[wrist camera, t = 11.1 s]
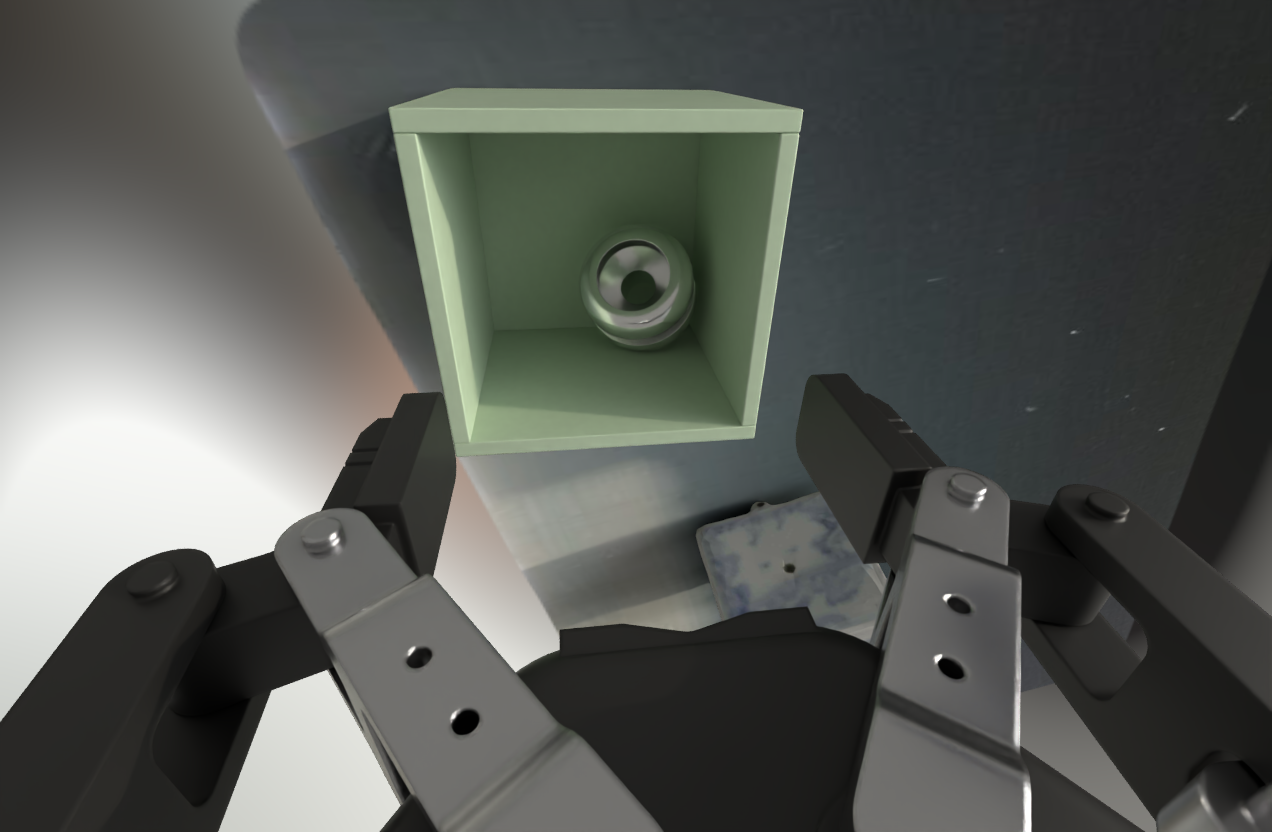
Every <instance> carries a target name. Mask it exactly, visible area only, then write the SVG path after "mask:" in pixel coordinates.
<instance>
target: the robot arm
mask: <svg viewBox="0 0 1272 832" xmlns="http://www.w3.org/2000/svg"><path fill="white" fill-rule="evenodd" d="M796 447H797V452H798V456H799V458H800V460H801V462H802V464H803V465H804V467H805V469H806V470H807V472H808V473H809V475H810V477H811V478H812V480H813V482H814V483H815V485H816V487H817V488H818V490H819V492H820V493H821V495H822V497H823V498H824V500H825V502H826V503H827V505H828V507H829V508H830V510H831V511H832V513H833V515H834V516H835V518H836V520H837V521H838V523H839V525H840V526H841V528H842V530H843V531H844V533H845V535H846V536H847V538H848V540H849V541H850V543H851V545H852V546H853V548H854V549H855V551H856V553H857V554H858V556H859V558H860V559H861V561H862V563H863V564H873V563H884V562H887V563H888V564H889V566H890V567H891V569H890V572H889V575H888V578H887V580H886V584H885V588H884V591H883V595H882V599H881V603H880V606H879V610H878V614H877V617H876V621H875V625H874V628H873V632H872V636H871V640H870V643H868V642H866V641H864V640H861V639H859V638H857V637H855V636H852V635H849V634H846V633H843V632H841V631H837V630H833V629H829V628H825V627H819V626H816V624H815V621H814V619H813V617H812V615H811V613H810V610H809V608H808V606H805V607H795V608H784V609H774V610H763V611H752V612H747V613H744V614H741V615H738V616H736V617H733V618H730V619H727V620H724V621H721V622H718V623H716V624H713V625H710V626H707V627H704V628H701V629H698V630H695V631H690V632H683V631H675V630H667V629H660V628H652V627H644V626H636V625H628V624H615V625H605V626H594V627H583V628H573V629H562V630H560V650H558V651H556V652H553V653H550V654H547V655H545V656H543V657H541V658H539V659H537V660H535V661H533V662H531V663H530V664H528V665H526V666H525V667H523V668H521V669H520V670H519V671H517V672H516V673H515V672H514V670H513V669H512V668H511V667H510V666H509V664H508V663H507V662H506V661H505V660H504V659H503V657H502V656H501V655H500V654H499V653H498V652H497V650H496V649H495V648H494V647H493V646H492V645H491V643H490V642H489V641H488V640H487V639H486V638H485V637H484V635H483V634H482V633H481V632H480V631H479V629H478V628H477V627H476V626H475V625H474V624H473V622H472V621H471V620H470V619H469V618H468V617H467V616H466V614H465V613H464V612H463V611H462V610H461V608H460V607H459V606H458V605H457V604H456V603H455V601H454V600H453V599H452V598H451V597H450V596H449V594H448V593H447V592H446V591H445V590H444V589H443V588H442V586H441V585H440V584H439V583H438V582H437V580H436V579H435V578H434V577H433V575H434V570H435V566H436V562H437V557H438V553H439V549H440V544H441V540H442V536H443V532H444V527H445V523H446V519H447V514H448V510H449V506H450V501H451V497H452V492H453V488H454V484H455V479H456V456H455V450H454V445H453V440H452V435H451V430H450V425H449V419H448V414H447V409H446V404H445V400H444V397H443V395H442V393H441V392H431V393H410V394H403V396H402V397H401V399H400V402H399V404H398V406H397V408H396V411H395V413H394V415H393V417H392V418H380V419H379V418H378V419H377V420H376V421H375V422H373V423H372V424H371V425H370V426H369V427H367V428H366V429H365V430H364V431H363V432H361V434H360V435H359V437H358V439H357V441H356V443H355V445H354V447H353V449H352V453H350V455H349V457H348V459H347V461H346V463H345V467H343V469H342V470H341V472H340V474H339V477H338V479H337V480H336V482H335V484H334V486H333V488H332V490H331V492H330V494H329V496H328V498H327V500H326V502H325V504H324V506H323V508H322V510H321V511H320V512H316V513H314V514H311V515H309V516H307V517H305V518H303V519H301V520H299V521H298V522H296V523H294V524H293V525H292V526H290V527H289V528H288V529H287V530H286V531H285V532H284V533H283V534H282V535H281V537H280V538H279V539H278V541H277V543H276V545H275V549H274V551H272V552H270V553H267V554H264V555H261V556H258V557H254V558H250V559H247V560H244V561H240V562H236V563H233V564H230V565H226V566H222V567H219V568H216V567H215V565H214V563H213V561H212V560H211V558H210V556H209V555H207V554H206V553H204V552H203V551H200V550H196V549H177V550H170V551H166V552H162V553H159V554H156V555H153V556H150V557H148V558H146V559H143V560H141V561H139V562H137V563H135V564H133V565H131V566H130V567H128V568H127V569H125V570H123V571H122V572H120V573H119V574H118V575H116V576H115V577H114V578H113V579H112V580H110V581H109V582H108V583H107V584H106V585H105V586H104V587H103V589H102V590H101V591H100V592H99V594H98V595H97V596H96V597H95V599H94V600H93V601H92V603H91V604H90V605H89V607H88V608H87V609H86V611H85V612H84V613H83V614H82V616H81V617H80V618H79V620H78V621H77V622H76V624H75V625H74V626H73V628H72V629H71V630H70V631H69V633H68V634H67V636H66V637H65V638H64V639H63V641H62V642H61V643H60V645H59V646H58V647H57V649H56V650H55V651H54V652H53V654H52V655H51V656H50V658H49V659H48V660H47V662H46V663H45V664H44V666H43V667H42V668H41V669H40V671H39V672H38V674H37V675H36V676H35V677H34V679H33V680H32V681H31V683H30V684H29V685H28V687H27V688H26V689H25V690H24V692H23V693H22V694H21V696H20V697H19V698H18V700H17V701H16V702H15V703H14V705H13V706H12V707H11V709H10V710H9V711H8V713H7V714H6V715H5V717H4V718H3V719H2V721H1V722H0V832H218V831H219V828H220V825H221V823H222V820H223V818H224V815H225V812H226V809H227V807H228V804H229V802H230V799H231V796H232V794H233V791H234V788H235V786H236V783H237V780H238V778H239V775H240V772H241V770H242V767H243V764H244V762H245V759H246V757H247V754H248V751H249V748H250V746H251V743H252V741H253V738H254V735H255V733H256V730H257V727H258V725H259V722H260V719H261V717H262V714H263V711H264V709H265V706H266V703H267V701H268V698H269V695H270V693H271V690H274V689H276V688H279V687H282V686H284V685H287V684H290V683H293V682H295V681H298V680H300V679H303V678H306V677H309V676H312V675H314V674H317V673H319V672H322V671H325V670H327V671H328V672H329V674H330V676H331V677H332V680H333V681H334V683H335V685H336V687H337V688H338V690H339V692H340V694H341V696H342V697H343V699H344V701H345V703H346V705H347V706H348V708H349V710H350V712H351V713H352V715H353V717H354V719H355V721H356V722H357V724H358V726H359V728H360V730H361V731H362V733H363V735H364V737H365V739H366V740H367V742H368V744H369V746H370V748H371V749H372V751H373V753H374V755H375V757H376V759H377V761H378V763H379V765H380V767H381V769H382V771H383V773H384V775H385V777H386V779H387V781H388V783H389V785H390V786H391V788H392V790H393V792H394V794H395V796H396V798H397V799H398V801H399V803H400V805H401V806H400V807H399V809H398V810H397V811H396V812H395V814H394V815H393V816H392V817H391V818H390V820H389V821H388V822H387V823H386V825H385V826H384V827H383V828H382V829H381V831H380V832H1145V831H1143V830H1142V829H1140V828H1139V827H1137V826H1136V825H1134V824H1133V823H1132V822H1130V821H1129V820H1127V819H1126V818H1124V817H1123V816H1121V815H1120V814H1119V813H1117V812H1116V811H1114V810H1113V809H1111V808H1110V807H1108V806H1107V805H1106V804H1104V803H1103V802H1101V801H1100V800H1098V799H1097V798H1095V797H1094V796H1092V795H1091V794H1090V793H1088V792H1087V791H1085V790H1084V789H1082V788H1081V787H1079V786H1078V785H1076V784H1075V783H1074V782H1072V781H1070V780H1069V779H1068V778H1066V777H1065V776H1063V775H1062V774H1061V773H1059V772H1058V771H1056V770H1055V769H1053V768H1052V767H1050V766H1049V765H1048V764H1046V763H1045V762H1043V761H1042V760H1040V759H1039V758H1037V757H1036V756H1035V755H1033V754H1032V753H1030V752H1029V751H1027V750H1026V749H1024V748H1023V747H1021V746H1020V665H1021V637H1022V639H1023V640H1024V641H1025V643H1026V644H1027V646H1028V647H1029V648H1030V650H1031V651H1032V652H1033V654H1034V655H1035V656H1036V658H1037V659H1038V661H1039V662H1040V663H1041V665H1042V666H1043V667H1044V669H1045V670H1046V672H1047V673H1048V674H1049V676H1050V677H1051V678H1052V680H1053V681H1054V683H1055V684H1056V685H1057V686H1058V688H1059V689H1060V691H1061V692H1062V693H1063V695H1064V696H1065V698H1066V699H1067V700H1068V702H1069V703H1070V704H1071V706H1072V707H1073V708H1074V710H1075V711H1076V712H1077V714H1078V715H1079V717H1080V718H1081V719H1082V721H1083V722H1084V724H1085V725H1086V726H1087V727H1088V729H1089V730H1090V732H1091V733H1092V735H1093V736H1094V737H1095V738H1096V740H1097V741H1098V743H1099V744H1100V746H1101V747H1102V748H1103V750H1104V751H1105V752H1106V753H1107V755H1108V756H1109V758H1110V759H1111V760H1112V762H1113V763H1114V765H1115V766H1116V767H1117V769H1118V770H1119V772H1120V773H1121V774H1122V776H1123V777H1124V778H1125V780H1126V781H1127V782H1128V784H1129V785H1130V786H1131V788H1132V789H1133V791H1134V792H1135V793H1136V795H1137V796H1138V797H1139V799H1140V800H1141V802H1142V803H1143V804H1144V806H1145V807H1146V809H1147V810H1148V811H1149V813H1150V814H1151V815H1152V817H1153V818H1154V819H1155V821H1156V827H1157V832H1272V616H1270V615H1269V614H1268V613H1267V612H1266V611H1264V610H1263V609H1262V608H1261V607H1259V606H1258V605H1257V604H1256V603H1255V602H1254V601H1252V600H1251V599H1250V598H1249V597H1248V596H1246V595H1245V594H1244V593H1243V592H1241V591H1240V590H1239V589H1238V588H1237V587H1236V586H1234V585H1233V584H1232V583H1230V581H1228V580H1227V579H1226V578H1225V577H1224V576H1222V575H1221V574H1220V573H1219V572H1218V571H1216V570H1215V569H1214V568H1212V567H1211V566H1210V565H1209V564H1208V563H1207V562H1206V561H1204V560H1203V559H1202V558H1201V557H1199V556H1198V555H1197V554H1196V553H1195V552H1194V551H1192V550H1191V549H1190V548H1189V547H1188V546H1186V545H1185V544H1184V543H1183V542H1181V541H1180V540H1179V539H1178V538H1177V537H1175V536H1174V535H1173V534H1172V533H1171V532H1169V531H1168V530H1167V529H1166V528H1165V527H1163V526H1162V525H1161V524H1160V523H1159V522H1157V521H1156V520H1155V519H1154V518H1153V517H1151V516H1150V515H1149V514H1148V513H1147V512H1145V511H1144V510H1143V509H1142V508H1140V507H1139V506H1138V505H1136V504H1135V503H1133V502H1132V501H1130V500H1129V499H1127V498H1125V497H1123V496H1121V495H1119V494H1116V493H1114V492H1111V491H1109V490H1106V489H1102V488H1099V487H1095V486H1090V485H1082V484H1073V485H1067V486H1064V487H1062V488H1060V489H1059V490H1058V492H1057V494H1056V496H1055V498H1054V499H1053V501H1052V503H1051V505H1043V504H1036V503H1029V502H1022V501H1015V500H1009V497H1008V495H1007V494H1006V492H1005V491H1004V490H1003V489H1002V488H1001V487H1000V486H999V485H998V484H997V483H996V482H994V481H993V480H991V479H989V478H988V477H986V476H984V475H982V474H979V473H977V472H974V471H971V470H968V469H964V468H959V467H950V466H946V464H945V463H944V462H943V461H942V460H941V459H940V458H939V457H938V456H937V455H936V454H935V453H934V452H933V451H932V450H931V449H930V448H929V447H928V446H927V444H926V443H925V442H924V441H923V440H922V439H921V438H920V437H919V436H918V435H917V434H916V433H913V430H912V429H911V428H910V427H909V426H908V425H907V423H906V422H905V421H903V422H902V418H901V417H900V416H899V415H898V414H897V413H896V412H895V411H894V410H893V409H892V408H891V407H890V406H889V405H888V404H886V403H885V402H883V401H881V400H879V399H878V398H876V397H874V396H872V395H871V394H865V393H864V392H863V391H862V390H861V389H860V388H859V387H858V386H857V385H856V383H855V382H854V381H853V380H852V379H851V378H850V377H849V376H848V375H847V374H844V373H841V374H821V375H811V376H810V377H809V378H808V380H807V383H806V387H805V392H804V397H803V402H802V407H801V412H800V417H799V422H798V427H797V432H796ZM1110 595H1112V596H1113V597H1114V598H1115V599H1116V600H1117V601H1118V602H1119V603H1120V604H1121V605H1122V606H1123V607H1124V608H1125V609H1126V610H1127V611H1128V612H1129V613H1130V615H1131V616H1132V617H1133V618H1134V619H1135V620H1136V621H1137V622H1138V623H1139V624H1140V626H1141V627H1142V629H1143V631H1144V633H1145V635H1146V638H1147V643H1148V650H1147V654H1146V656H1145V658H1144V659H1143V660H1142V659H1141V658H1140V657H1139V656H1138V655H1137V654H1136V653H1135V651H1134V650H1133V649H1132V648H1131V647H1130V646H1129V645H1128V644H1127V642H1126V641H1125V640H1124V639H1123V638H1122V637H1121V636H1120V635H1119V634H1118V632H1117V631H1116V630H1115V629H1114V628H1113V627H1112V626H1111V625H1110V624H1109V623H1108V621H1107V620H1106V619H1105V618H1104V617H1103V616H1102V615H1101V614H1100V613H1099V611H1100V609H1101V608H1102V606H1103V605H1104V603H1105V602H1106V601H1107V599H1108V598H1109V596H1110Z"/></svg>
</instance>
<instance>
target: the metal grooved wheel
mask: <svg viewBox="0 0 1272 832" xmlns="http://www.w3.org/2000/svg"><path fill="white" fill-rule="evenodd" d="M640 283H649V284H652V285H653V286H655V287H656V288H655V292H654V294H653V296H652V297H651V298H650V299H649V300H648V301H647V302H645V303H642V304H632V303H630V302H628V301H627V296H628V293H629V291H630V290H631V289H632V288H633V287H634V286H635V285H637V284H640ZM579 293H580V298H581V301H582V304H583V306H584V309H585V310H586V312H587V314H588V315H589V317H590V318H591V319H592V320H593V322H594V323H595V324H596V325H597V327H598V328H599V329H600V330H601V332H602V333H603V334H604V335H605V336H606V337H607V338H608V339H609V340H610V341H612V342H613V343H615V344H617V345H618V346H621V347H623V348H626V349H630V350H637V351H646V350H653V349H657V348H660V347H662V346H665V345H667V344H668V343H670V342H672V341H673V340H675V339H676V338H677V337H678V336H679V335H680V334H681V333H682V332H683V331H684V330H685V329H686V328H687V326H688V325H689V323H690V321H691V319H692V317H693V315H694V312H695V308H696V302H697V291H696V285H695V279H694V273H693V267H692V263H691V260H690V258H689V255H688V253H687V252H686V250H685V248H684V247H683V246H682V244H681V243H680V242H679V241H678V240H677V239H676V238H675V237H674V236H672V235H671V234H669V233H668V232H666V231H664V230H662V229H660V228H657V227H654V226H649V225H628V226H624V227H621V228H618V229H615V230H613V231H611V232H609V233H608V234H606V235H604V236H603V237H602V238H601V239H599V240H598V241H597V242H596V243H595V244H594V245H593V246H592V248H591V249H590V250H589V252H588V253H587V255H586V257H585V259H584V261H583V263H582V266H581V270H580V274H579Z"/></svg>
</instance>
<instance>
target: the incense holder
mask: <svg viewBox="0 0 1272 832" xmlns="http://www.w3.org/2000/svg"><path fill="white" fill-rule="evenodd" d="M696 539H697V542H698V546H699V550H700V553H701V557H702V560H703V563H704V565H705V568H706V571H707V574H708V577H709V581H710V584H711V587H712V590H713V593H714V596H715V599H716V603H717V607H718V610H719V613H720V617H721V620H722V621H724V620H727V619H730V618H733V617H736V616H738V615H741V614H744V613H747V612H752V611H763V610H774V609H784V608H795V607H805V606H808V608H809V610H810V613H811V615H812V617H813V619H814V621H815V624H816V626H819V627H825V628H829V629H833V630H837V631H841V632H843V633H846V634H849V635H852V636H855V637H857V638H859V639H861V640H864V641H866V642H868V643H870V640H871V636H872V632H873V628H874V625H875V621H876V617H877V614H878V610H879V606H880V603H881V599H882V595H883V591H884V588H885V584H886V580H887V579H886V577H885V575H884V574H883V572H882V570H881V568H880V566H879V564H878V563H873V564H863V563H862V561H861V559H860V558H859V556H858V554H857V553H856V551H855V549H854V548H853V546H852V545H851V543H850V541H849V540H848V538H847V536H846V535H845V533H844V531H843V530H842V528H841V526H840V525H839V523H838V521H837V520H836V518H835V516H834V515H833V513H832V511H831V510H830V508H829V507H828V505H827V503H826V502H825V500H824V498H823V497H822V495H821V493H820V492H816V493H812V494H809V495H807V496H803V497H800V498H797V499H795V500H792V501H789V502H786V503H782V504H778V505H770V504H768V503H767V502H756V503H754V504H753V505H752V507H751V511H750V512H749V513H748V514H745V515H741V516H738V517H733V518H729V519H725V520H722V521H719V522H714V523H710V524H707V525H704V526H702V527H701V528H699V529H697V533H696Z"/></svg>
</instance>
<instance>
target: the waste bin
mask: <svg viewBox="0 0 1272 832" xmlns="http://www.w3.org/2000/svg"><path fill="white" fill-rule="evenodd" d="M388 110H389V115H390V120H391V125H392V131H393V132H394V133H395V134H394V141H395V146H396V151H397V156H398V161H399V166H400V171H401V177H402V182H403V187H404V192H405V197H406V202H407V207H408V212H409V218H410V223H411V228H412V233H413V238H414V243H415V248H416V253H417V259H418V264H419V269H420V274H421V279H422V284H423V289H424V294H425V300H426V305H427V310H428V315H429V320H430V325H431V330H432V335H433V340H434V346H435V351H436V356H437V361H438V366H439V371H440V376H441V381H442V387H443V392H444V397H445V402H446V407H447V412H448V417H449V422H450V428H451V433H452V438H453V442H454V448H455V453H456V456H457V457H462V456H478V455H494V454H510V453H526V452H542V451H558V450H575V449H591V448H607V447H623V446H639V445H655V444H671V443H687V442H703V441H719V440H735V439H752V438H754V435H755V428H756V421H757V414H758V407H759V401H760V394H761V387H762V381H763V374H764V367H765V361H766V354H767V347H768V341H769V334H770V327H771V321H772V314H773V307H774V301H775V294H776V287H777V280H778V274H779V267H780V260H781V254H782V247H783V240H784V234H785V227H786V220H787V214H788V207H789V200H790V194H791V187H792V180H793V174H794V167H795V160H796V154H797V147H798V140H799V134H798V133H799V132H800V129H801V122H802V115H803V110H802V109H798V108H794V107H789V106H784V105H780V104H775V103H770V102H765V101H761V100H756V99H751V98H747V97H742V96H737V95H732V94H728V93H723V92H718V91H713V90H631V89H508V88H451V89H447V90H444V91H441V92H437V93H434V94H431V95H428V96H425V97H422V98H418V99H415V100H412V101H409V102H406V103H402V104H399V105H396V106H393V107H390V108H389V109H388ZM628 225H649V226H654V227H657V228H660V229H662V230H664V231H666V232H668V233H669V234H671V235H672V236H674V237H675V238H676V239H677V240H678V241H679V242H680V243H681V244H682V246H683V247H684V248H685V250H686V252H687V253H688V255H689V258H690V260H691V263H692V267H693V273H694V279H695V285H696V291H697V302H696V308H695V312H694V315H693V317H692V319H691V321H690V323H689V325H688V326H687V328H686V329H685V330H684V331H683V332H682V333H681V334H680V335H679V336H678V337H677V338H676V339H675V340H673V341H672V342H670V343H668V344H667V345H665V346H662V347H660V348H657V349H653V350H646V351H637V350H630V349H626V348H623V347H621V346H618V345H617V344H615V343H613V342H612V341H610V340H609V339H608V338H607V337H606V336H605V335H604V334H603V333H602V332H601V330H600V329H599V328H598V327H597V325H596V324H595V323H594V322H593V320H592V319H591V318H590V317H589V315H588V314H587V312H586V310H585V309H584V306H583V304H582V301H581V298H580V293H579V274H580V270H581V266H582V263H583V261H584V259H585V257H586V255H587V253H588V252H589V250H590V249H591V248H592V246H593V245H594V244H595V243H596V242H597V241H598V240H599V239H601V238H602V237H603V236H604V235H606V234H608V233H609V232H611V231H613V230H615V229H618V228H621V227H624V226H628ZM655 288H656V287H655V286H653V285H652V284H649V283H640V284H637V285H635V286H634V287H633V288H632V289H631V290H630V291H629V293H628V296H627V301H628V302H630V303H632V304H642V303H645V302H647V301H648V300H649V299H650V298H651V297H652V296H653V294H654V292H655Z"/></svg>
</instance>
